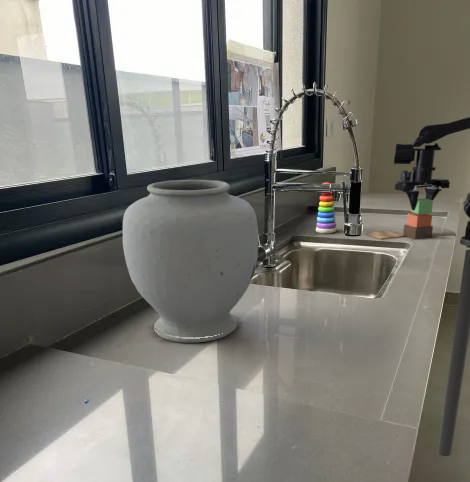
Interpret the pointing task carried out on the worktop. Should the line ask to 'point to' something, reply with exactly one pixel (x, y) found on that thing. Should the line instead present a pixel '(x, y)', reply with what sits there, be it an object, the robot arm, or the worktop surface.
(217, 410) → the worktop surface
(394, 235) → the cork coaster
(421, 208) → the green block
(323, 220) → the stacking toy
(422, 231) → the walnut block
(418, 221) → the terracotta block
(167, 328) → the grey vase
